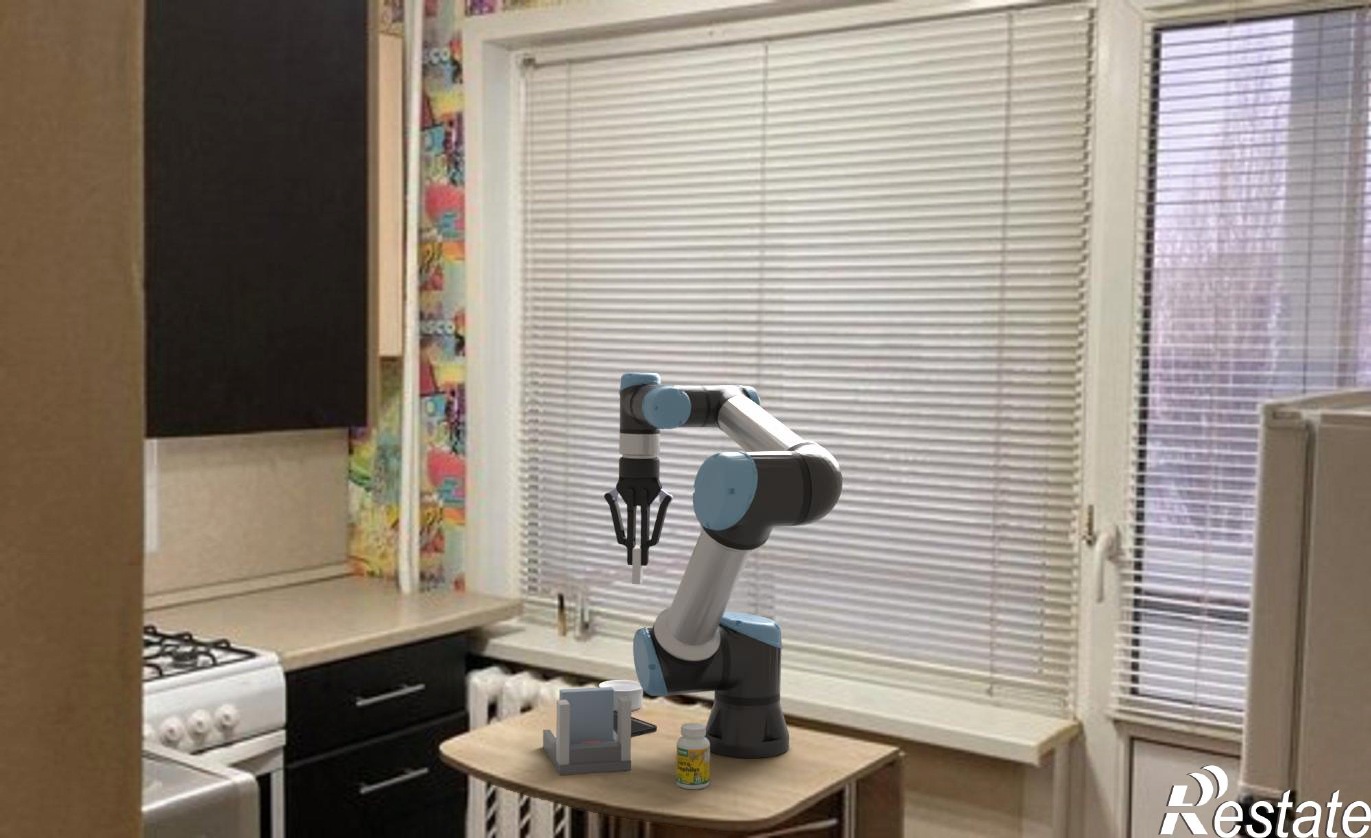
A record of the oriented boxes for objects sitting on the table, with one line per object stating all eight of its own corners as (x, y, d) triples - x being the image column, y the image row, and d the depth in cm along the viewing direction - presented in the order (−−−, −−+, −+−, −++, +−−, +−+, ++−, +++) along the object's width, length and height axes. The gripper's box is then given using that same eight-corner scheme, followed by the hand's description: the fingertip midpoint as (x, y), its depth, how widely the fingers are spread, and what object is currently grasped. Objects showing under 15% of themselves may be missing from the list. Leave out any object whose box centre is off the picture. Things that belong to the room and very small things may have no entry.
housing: (542, 746, 240) (543, 681, 239) (610, 742, 243) (610, 678, 242) (559, 774, 224) (560, 705, 224) (631, 769, 228) (632, 701, 227)
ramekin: (602, 699, 272) (602, 678, 272) (646, 701, 271) (647, 680, 271) (595, 711, 263) (595, 689, 263) (640, 713, 262) (641, 691, 262)
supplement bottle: (714, 781, 222) (715, 723, 222) (702, 791, 217) (703, 732, 217) (683, 777, 224) (684, 719, 224) (670, 787, 219) (671, 728, 219)
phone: (609, 708, 262) (659, 726, 251) (609, 714, 262) (659, 732, 251) (576, 715, 257) (625, 733, 246) (576, 721, 257) (625, 739, 246)
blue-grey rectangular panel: (558, 747, 233) (559, 689, 233) (610, 744, 236) (611, 686, 235) (560, 750, 231) (561, 692, 231) (613, 747, 234) (613, 689, 233)
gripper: (677, 455, 256) (675, 580, 257) (609, 453, 258) (607, 577, 259) (670, 458, 248) (668, 587, 249) (600, 456, 250) (598, 584, 252)
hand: (637, 582), depth 254 cm, fingers closed
